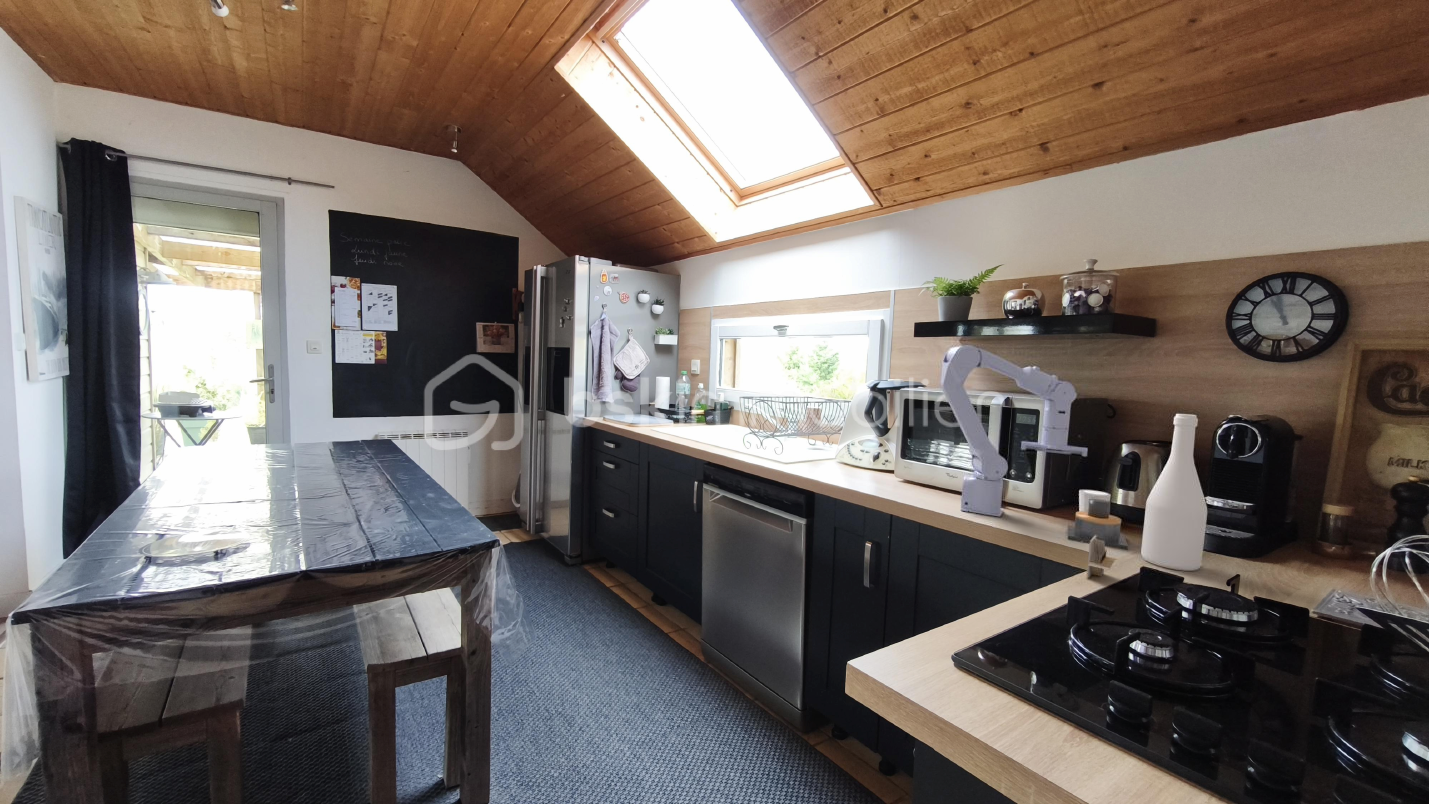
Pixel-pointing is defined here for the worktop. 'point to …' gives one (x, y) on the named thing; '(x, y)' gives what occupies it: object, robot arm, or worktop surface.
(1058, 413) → the robot arm
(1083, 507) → the shot glass
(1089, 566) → the architectural model
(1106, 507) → the cap
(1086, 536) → the grey bowl on base
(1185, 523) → the wine bottle
